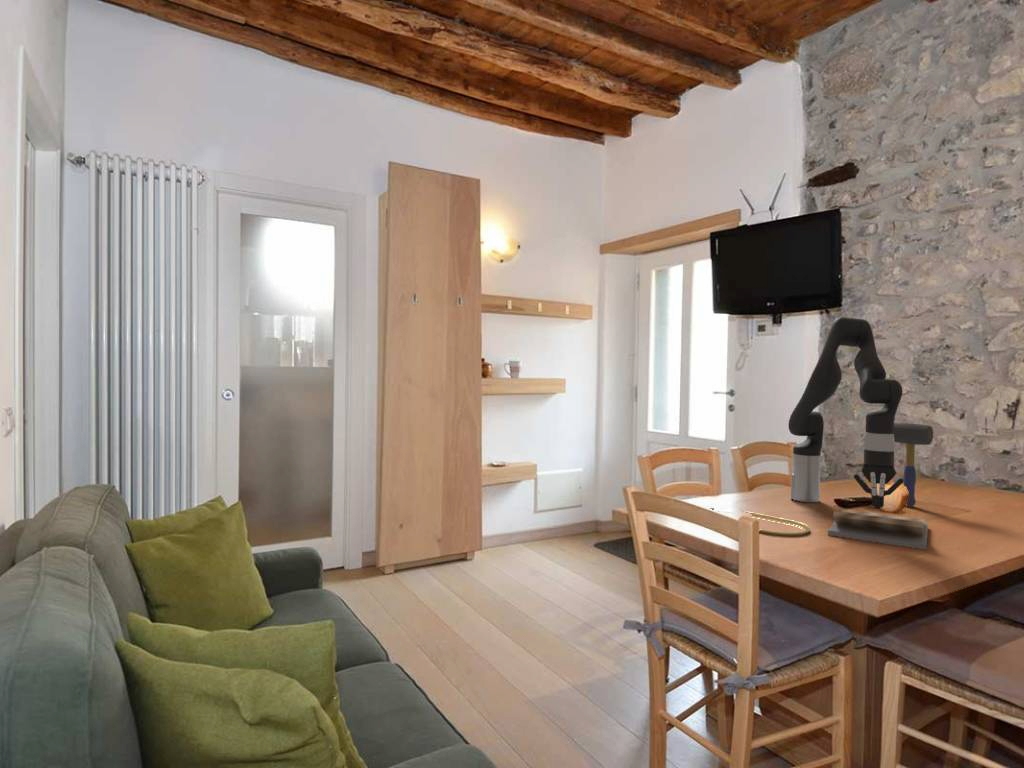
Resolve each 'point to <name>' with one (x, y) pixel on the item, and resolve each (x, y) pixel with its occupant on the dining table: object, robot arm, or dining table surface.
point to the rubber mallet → (912, 451)
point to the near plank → (879, 523)
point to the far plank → (884, 515)
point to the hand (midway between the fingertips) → (877, 508)
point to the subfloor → (880, 535)
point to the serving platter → (780, 521)
